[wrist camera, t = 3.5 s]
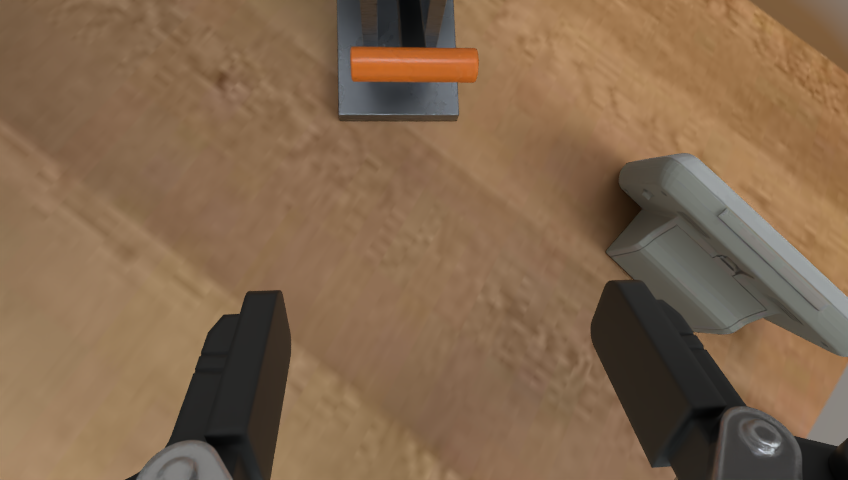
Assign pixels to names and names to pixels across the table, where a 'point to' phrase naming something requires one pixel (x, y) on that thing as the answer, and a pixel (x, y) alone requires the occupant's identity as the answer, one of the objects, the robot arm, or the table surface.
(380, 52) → the switch lever
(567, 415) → the table surface
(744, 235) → the digital clock
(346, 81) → the switch bracket
